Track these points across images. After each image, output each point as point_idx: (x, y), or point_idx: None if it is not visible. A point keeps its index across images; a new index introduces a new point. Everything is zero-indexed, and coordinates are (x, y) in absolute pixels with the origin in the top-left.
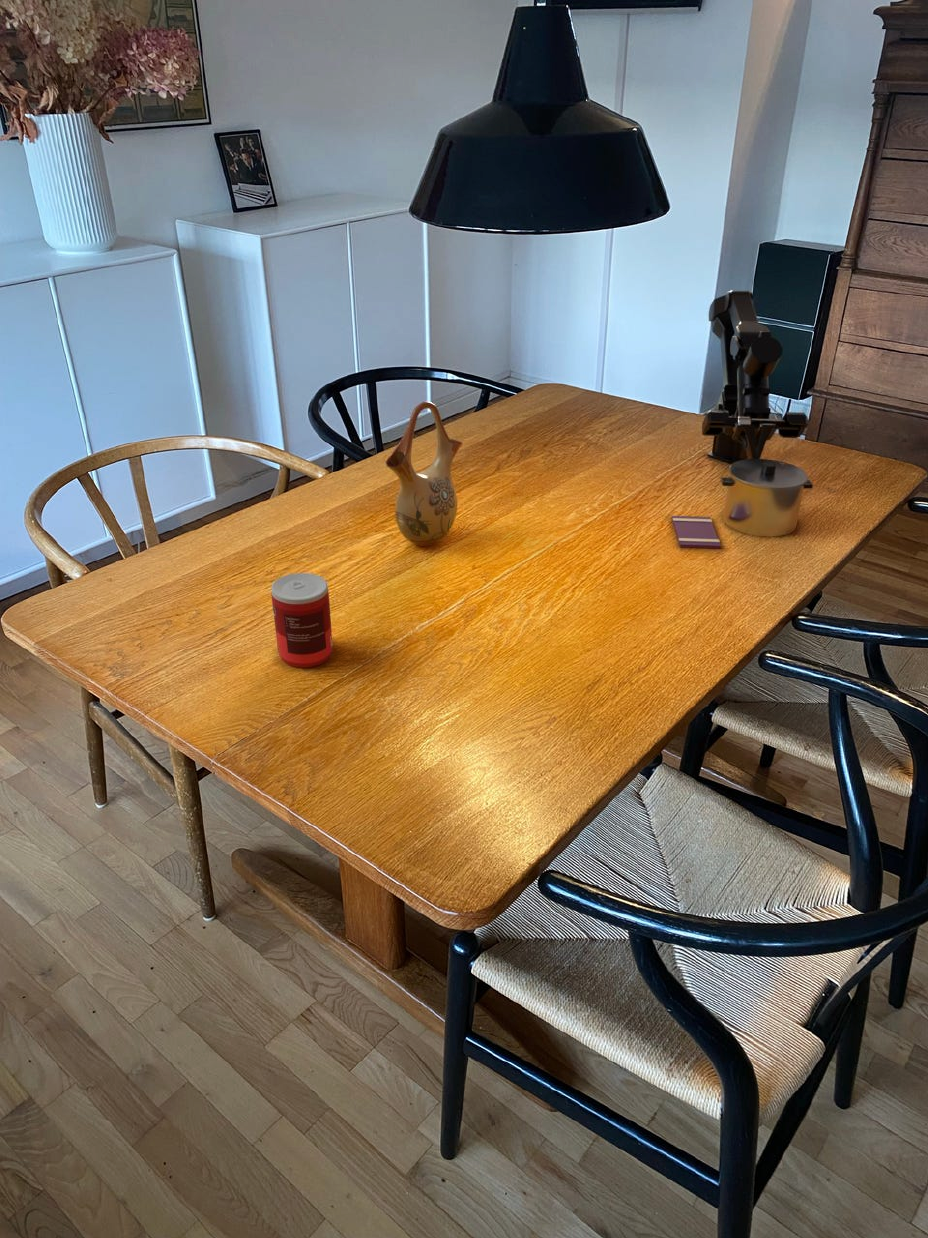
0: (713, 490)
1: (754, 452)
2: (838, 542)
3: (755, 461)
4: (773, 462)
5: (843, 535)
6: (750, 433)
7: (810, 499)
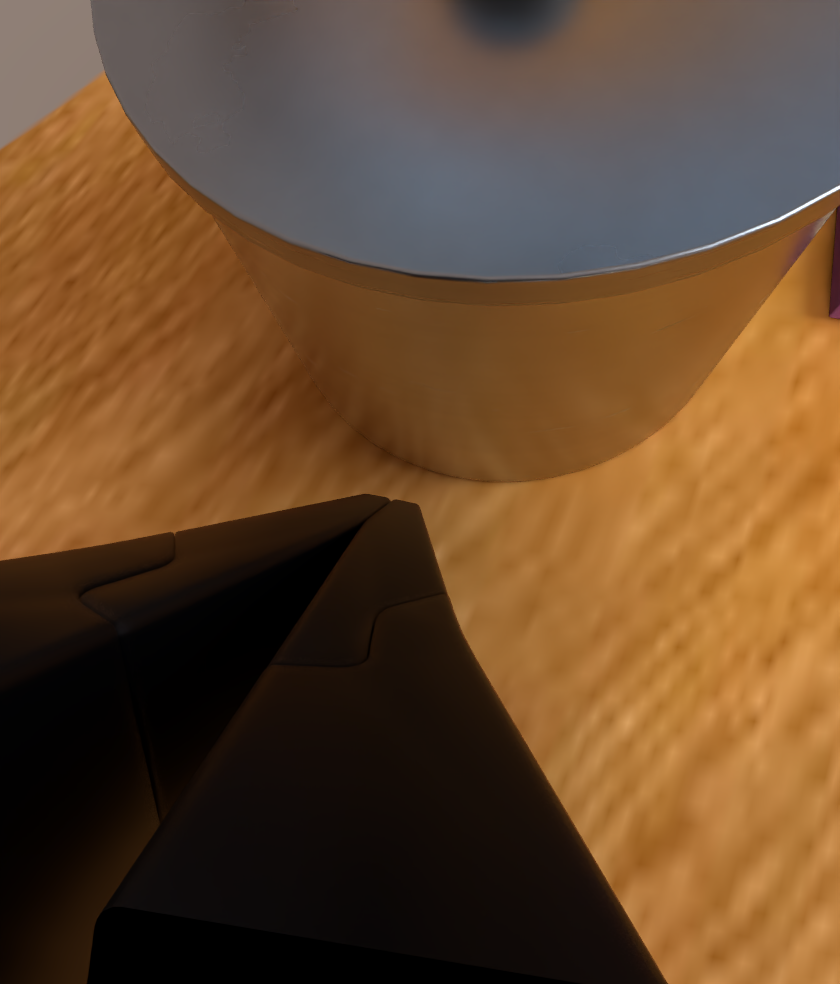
0: (643, 842)
1: (382, 539)
2: None
3: (532, 185)
4: (300, 142)
5: None
6: (390, 731)
7: (12, 551)
